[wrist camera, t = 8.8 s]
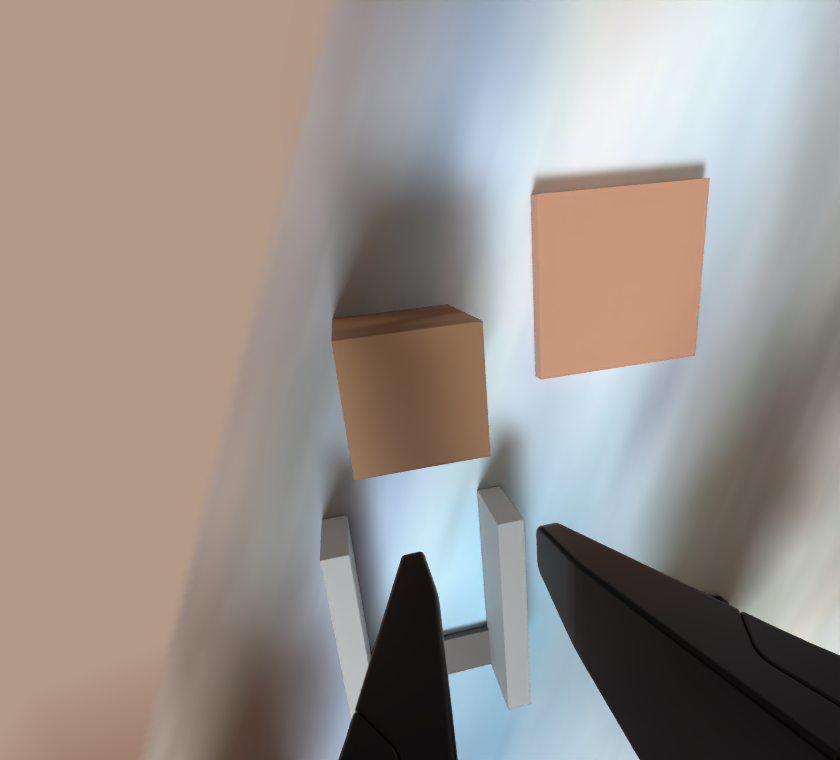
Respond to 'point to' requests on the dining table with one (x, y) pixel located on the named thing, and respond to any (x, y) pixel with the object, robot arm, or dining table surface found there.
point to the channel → (463, 650)
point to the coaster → (617, 275)
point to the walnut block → (411, 389)
